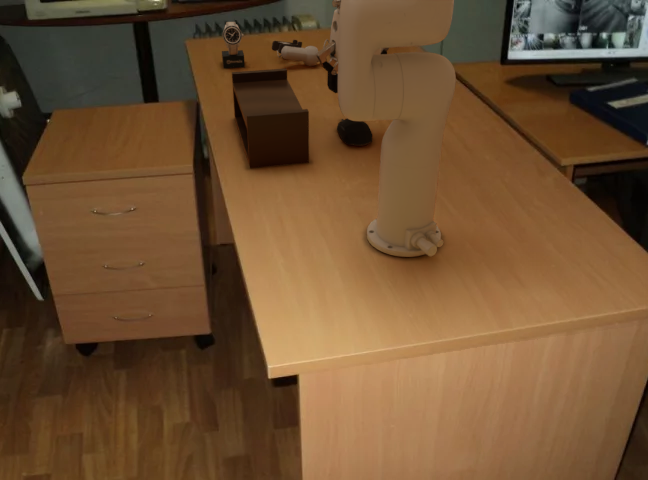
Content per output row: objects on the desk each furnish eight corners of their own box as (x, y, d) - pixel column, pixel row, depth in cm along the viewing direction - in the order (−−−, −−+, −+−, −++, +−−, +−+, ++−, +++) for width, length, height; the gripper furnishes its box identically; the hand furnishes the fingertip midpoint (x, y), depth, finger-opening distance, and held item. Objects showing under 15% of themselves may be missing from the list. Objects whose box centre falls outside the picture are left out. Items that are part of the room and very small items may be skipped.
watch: (224, 71, 190) (221, 28, 184) (222, 60, 196) (219, 18, 190) (245, 69, 191) (243, 27, 184) (243, 59, 197) (240, 17, 191)
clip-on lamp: (330, 62, 205) (269, 54, 198) (334, 39, 202) (273, 30, 195) (345, 72, 195) (282, 64, 188) (350, 48, 193) (286, 38, 185)
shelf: (308, 162, 148) (308, 111, 141) (249, 168, 145) (246, 116, 139) (287, 115, 167) (286, 68, 161) (234, 119, 165) (231, 72, 158)
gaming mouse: (355, 119, 166) (356, 102, 163) (376, 146, 154) (377, 129, 152) (328, 121, 164) (329, 104, 162) (347, 149, 153) (348, 132, 150)
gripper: (328, 14, 137) (326, 100, 147) (403, 1, 144) (397, 85, 154) (308, 3, 142) (308, 88, 152) (382, -8, 149) (377, 73, 160)
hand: (353, 86), depth 153 cm, fingers open, 9 cm apart
